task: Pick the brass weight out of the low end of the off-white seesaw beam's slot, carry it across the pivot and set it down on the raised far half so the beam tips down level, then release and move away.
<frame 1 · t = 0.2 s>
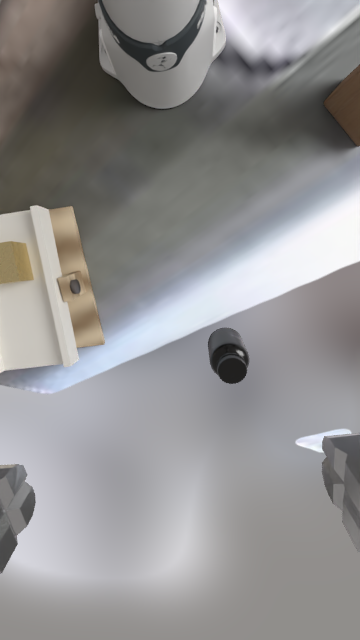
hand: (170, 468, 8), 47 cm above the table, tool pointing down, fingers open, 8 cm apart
wooden block: (350, 114, 45), on the table
stand: (39, 286, 55), on the table
supplement bottle: (224, 342, 58), on the table
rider: (12, 264, 48), point 6 cm above the table, tilted 8°, touching beam
beam: (18, 294, 49), point 7 cm above the table, hinge at -8.2°, touching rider
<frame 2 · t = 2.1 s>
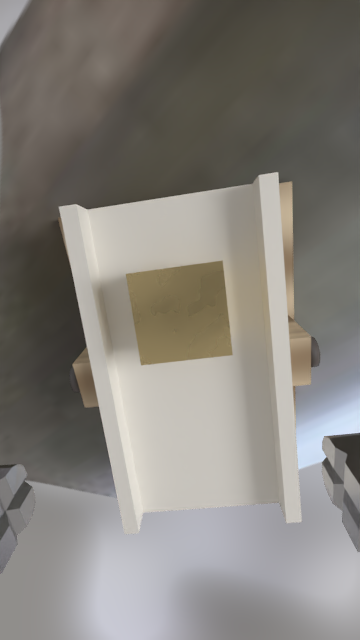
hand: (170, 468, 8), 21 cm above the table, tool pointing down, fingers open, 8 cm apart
stand: (190, 337, 29), on the table
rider: (182, 306, 22), point 6 cm above the table, tilted 8°, touching beam
beam: (191, 369, 23), point 7 cm above the table, hinge at -8.2°, touching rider
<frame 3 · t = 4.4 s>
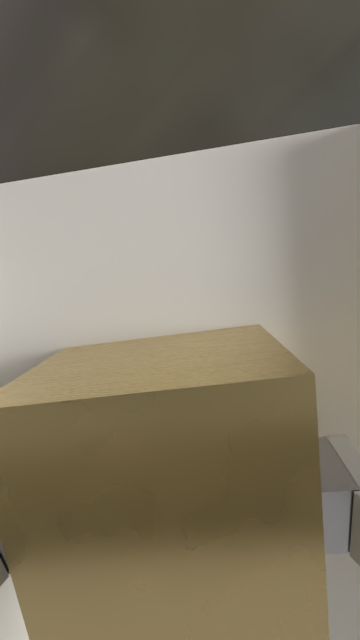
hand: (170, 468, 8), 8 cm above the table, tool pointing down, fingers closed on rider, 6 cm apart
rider: (173, 426, 9), point 6 cm above the table, tilted 8°, touching beam, gripper
beam: (192, 564, 10), point 7 cm above the table, hinge at -8.1°, touching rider
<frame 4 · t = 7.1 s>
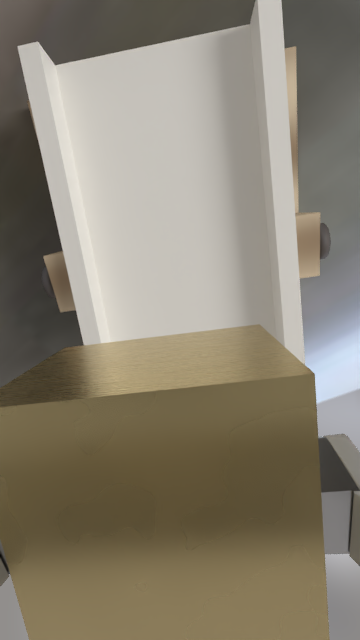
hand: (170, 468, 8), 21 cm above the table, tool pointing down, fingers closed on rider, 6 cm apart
stand: (183, 252, 26), on the table
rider: (173, 426, 9), point 19 cm above the table, tilted 9°, touching gripper
beam: (180, 262, 20), point 7 cm above the table, hinge at -8.1°
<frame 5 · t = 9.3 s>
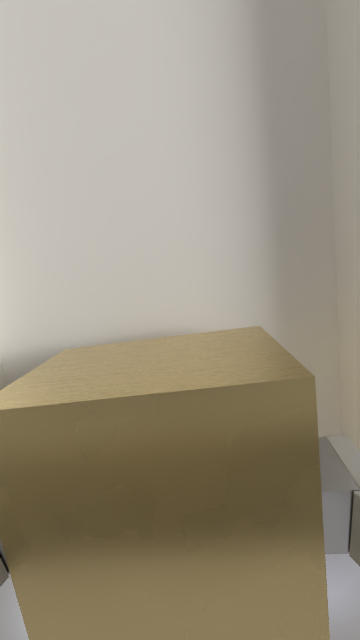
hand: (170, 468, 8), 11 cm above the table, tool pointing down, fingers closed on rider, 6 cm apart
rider: (173, 427, 9), point 9 cm above the table, tilted 8°, touching gripper
beam: (134, 161, 9), point 7 cm above the table, hinge at -8.1°
when the fingers open (11 cm above the table, at t = 10.3 s): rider drops 2 cm, resting on beam.
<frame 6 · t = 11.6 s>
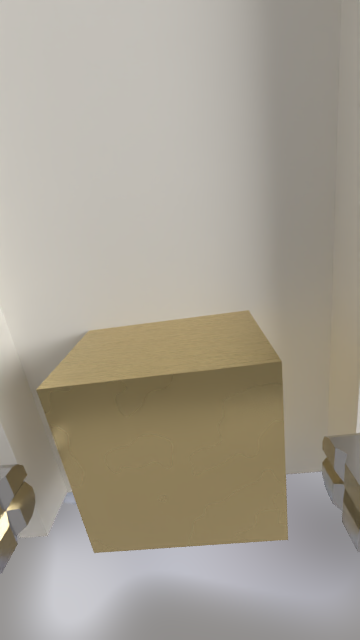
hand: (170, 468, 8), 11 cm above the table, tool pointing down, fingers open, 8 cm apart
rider: (178, 389, 12), point 7 cm above the table, touching beam
beam: (139, 168, 9), point 7 cm above the table, hinge at 0.6°, touching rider
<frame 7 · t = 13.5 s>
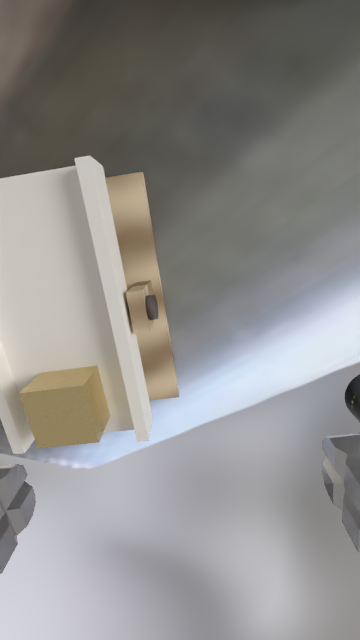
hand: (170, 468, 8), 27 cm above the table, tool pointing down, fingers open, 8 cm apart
stand: (80, 306, 34), on the table
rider: (76, 394, 30), point 7 cm above the table, touching beam
beam: (54, 322, 28), point 7 cm above the table, hinge at 0.6°, touching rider
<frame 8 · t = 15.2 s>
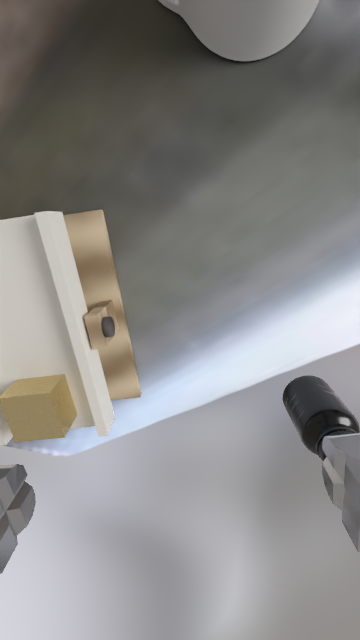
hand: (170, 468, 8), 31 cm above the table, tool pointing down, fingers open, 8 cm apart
stand: (53, 320, 40), on the table
supplement bottle: (304, 393, 43), on the table
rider: (48, 397, 36), point 7 cm above the table, touching beam
beam: (26, 339, 33), point 7 cm above the table, hinge at 0.6°, touching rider
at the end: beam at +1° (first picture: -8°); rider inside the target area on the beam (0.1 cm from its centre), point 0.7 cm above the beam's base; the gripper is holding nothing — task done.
